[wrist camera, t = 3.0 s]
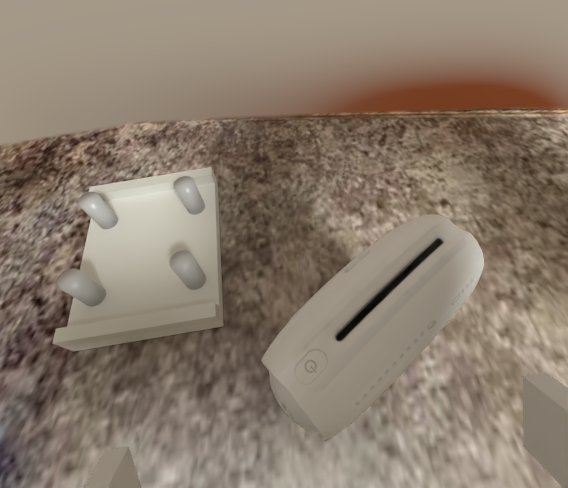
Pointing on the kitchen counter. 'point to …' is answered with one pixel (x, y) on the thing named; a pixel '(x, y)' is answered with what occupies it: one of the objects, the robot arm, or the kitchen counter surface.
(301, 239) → the kitchen counter surface
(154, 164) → the kitchen counter surface
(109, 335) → the white pegged stand
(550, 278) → the kitchen counter surface
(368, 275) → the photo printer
